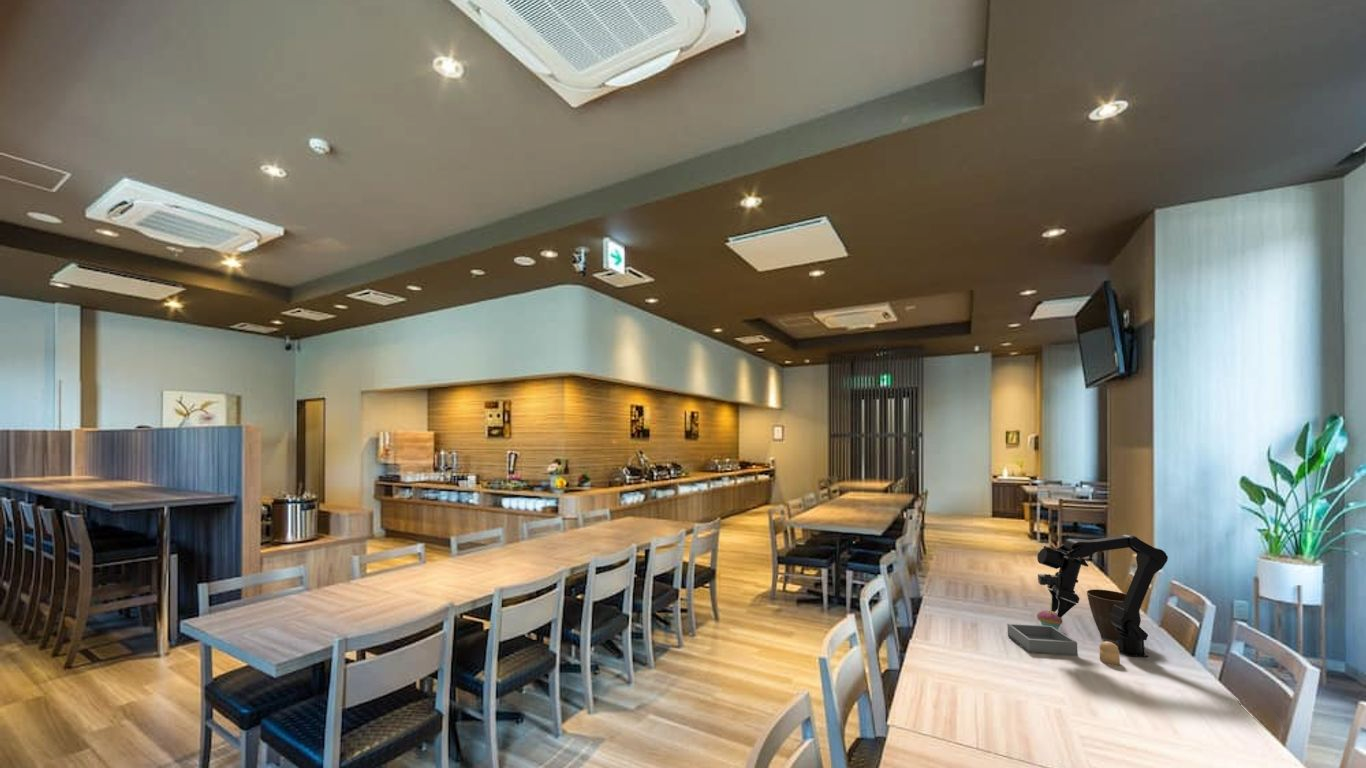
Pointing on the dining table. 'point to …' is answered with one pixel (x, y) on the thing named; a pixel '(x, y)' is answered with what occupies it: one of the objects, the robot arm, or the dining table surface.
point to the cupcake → (1049, 618)
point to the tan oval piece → (1109, 653)
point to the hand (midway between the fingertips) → (1056, 614)
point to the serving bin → (1042, 639)
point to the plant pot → (1105, 610)
